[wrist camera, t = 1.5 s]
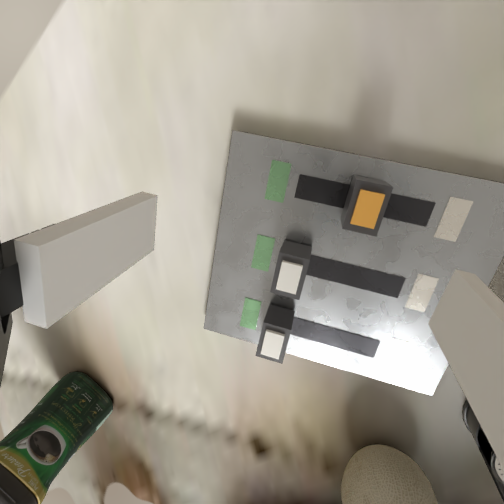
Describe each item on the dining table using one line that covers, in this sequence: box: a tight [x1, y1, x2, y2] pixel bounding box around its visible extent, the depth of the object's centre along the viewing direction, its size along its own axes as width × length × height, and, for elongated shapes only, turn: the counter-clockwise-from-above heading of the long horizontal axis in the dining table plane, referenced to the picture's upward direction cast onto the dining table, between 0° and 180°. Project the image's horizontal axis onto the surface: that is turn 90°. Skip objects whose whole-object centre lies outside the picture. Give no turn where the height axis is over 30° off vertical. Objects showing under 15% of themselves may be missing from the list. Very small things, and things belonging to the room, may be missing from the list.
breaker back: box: [256, 304, 295, 363], centre depth 35 cm, size 4×3×4 cm
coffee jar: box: [0, 372, 113, 504], centre depth 43 cm, size 10×8×19 cm
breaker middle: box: [270, 240, 312, 300], centre depth 32 cm, size 4×3×4 cm
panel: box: [204, 130, 504, 396], centre depth 35 cm, size 24×28×2 cm
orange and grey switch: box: [340, 175, 393, 237], centre depth 29 cm, size 4×3×4 cm
